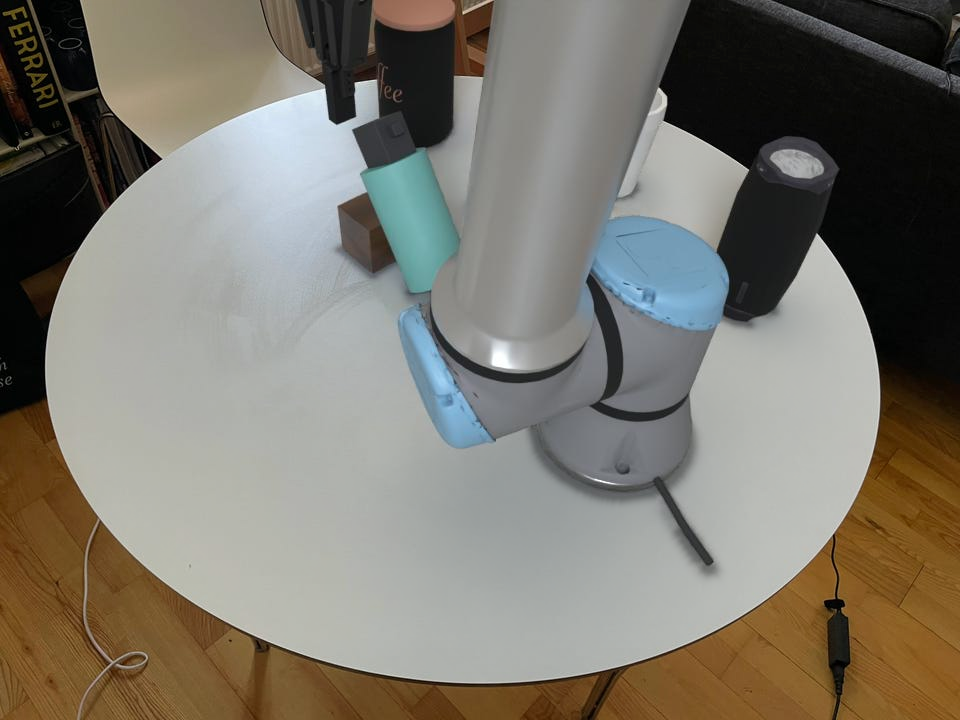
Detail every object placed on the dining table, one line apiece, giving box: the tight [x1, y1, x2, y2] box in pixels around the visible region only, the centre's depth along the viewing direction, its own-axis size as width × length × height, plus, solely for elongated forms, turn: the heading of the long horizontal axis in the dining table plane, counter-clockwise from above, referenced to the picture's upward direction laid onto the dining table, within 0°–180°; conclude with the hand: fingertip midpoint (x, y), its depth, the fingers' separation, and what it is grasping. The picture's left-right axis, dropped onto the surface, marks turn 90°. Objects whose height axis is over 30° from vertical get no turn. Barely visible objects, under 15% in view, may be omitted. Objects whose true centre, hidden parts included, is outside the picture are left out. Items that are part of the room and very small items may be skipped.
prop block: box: [337, 191, 397, 274], centre depth 91 cm, size 6×8×6 cm
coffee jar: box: [372, 0, 456, 149], centre depth 104 cm, size 11×11×18 cm
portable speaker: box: [715, 135, 840, 323], centre depth 82 cm, size 9×9×20 cm
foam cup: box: [617, 87, 668, 198], centre depth 99 cm, size 10×9×13 cm
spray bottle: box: [351, 111, 461, 294], centre depth 83 cm, size 15×8×19 cm, turn 43°
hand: (342, 118), depth 85 cm, fingers closed
